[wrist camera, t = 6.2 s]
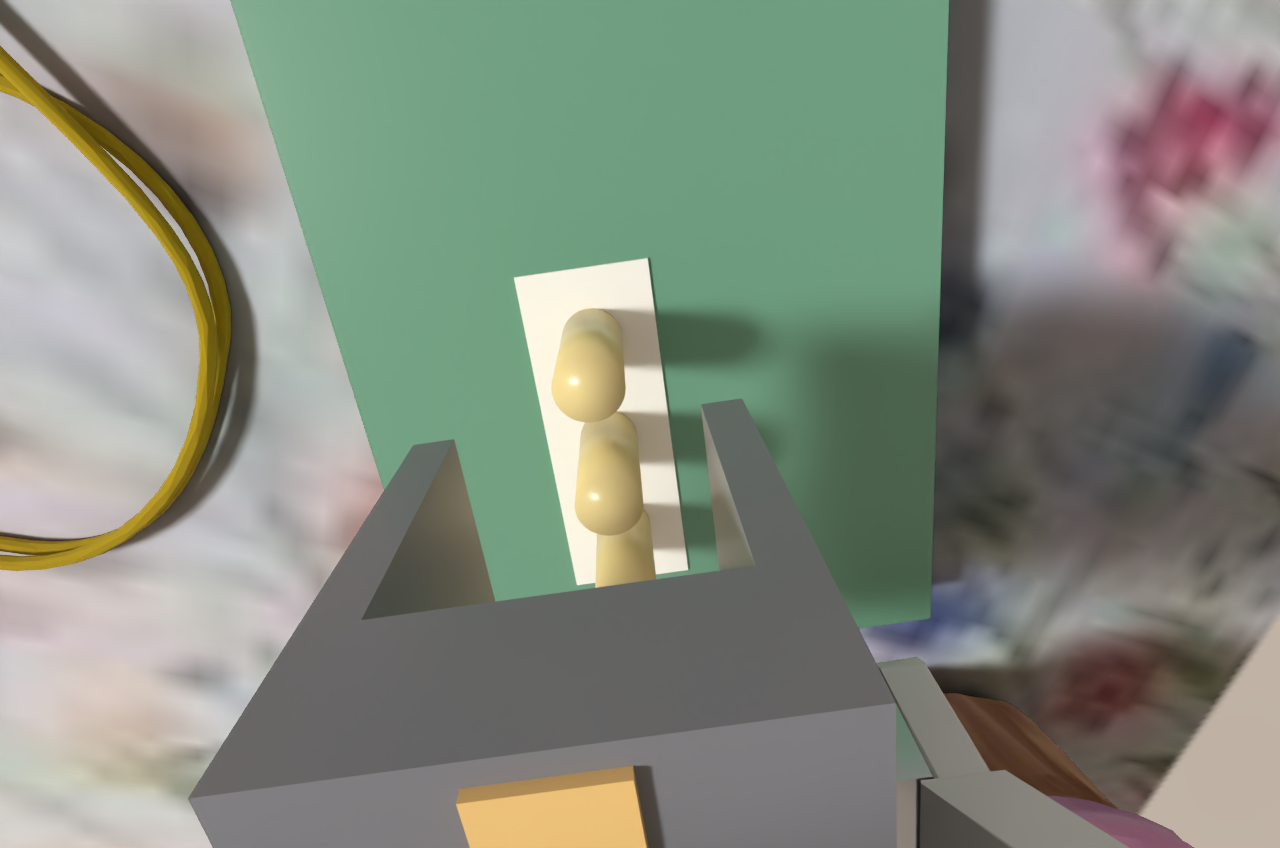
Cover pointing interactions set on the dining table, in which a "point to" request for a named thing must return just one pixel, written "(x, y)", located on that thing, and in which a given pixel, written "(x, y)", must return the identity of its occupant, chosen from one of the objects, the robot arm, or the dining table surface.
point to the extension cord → (210, 319)
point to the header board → (631, 262)
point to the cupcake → (1050, 769)
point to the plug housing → (567, 692)
